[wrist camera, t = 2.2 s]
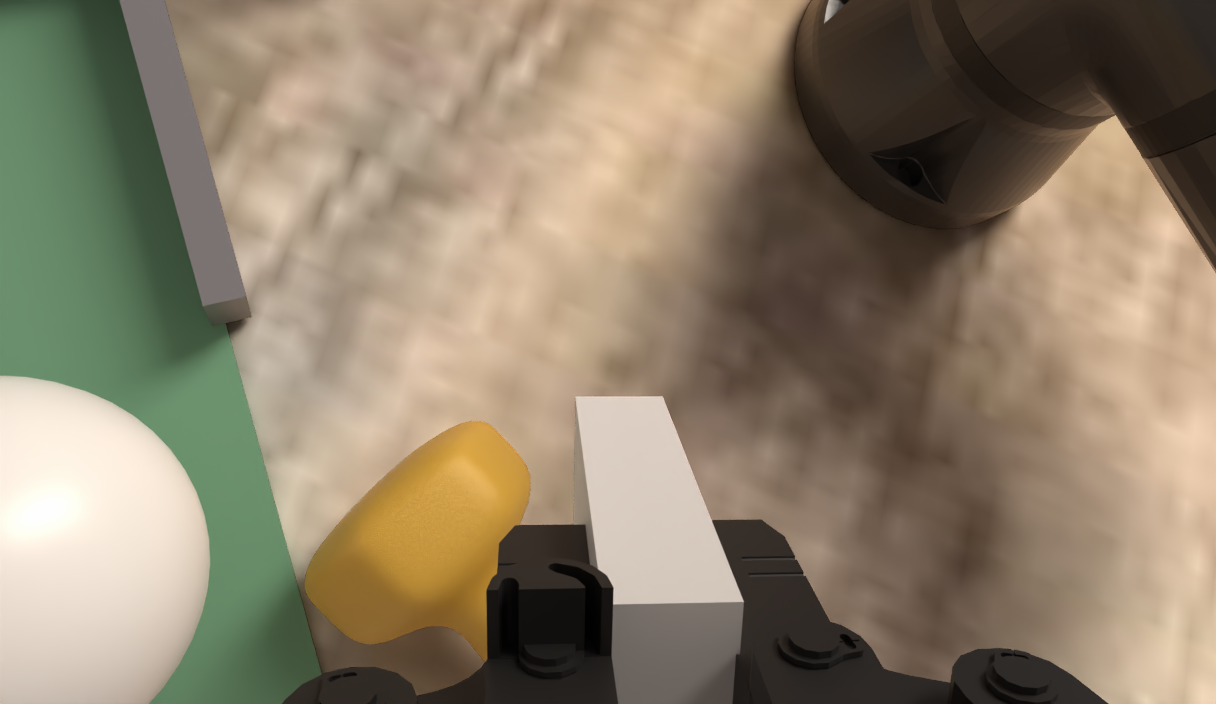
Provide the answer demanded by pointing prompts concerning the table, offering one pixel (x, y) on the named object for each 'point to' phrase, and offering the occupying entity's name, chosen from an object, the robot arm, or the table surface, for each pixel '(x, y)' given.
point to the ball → (92, 550)
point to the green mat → (136, 324)
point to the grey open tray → (186, 161)
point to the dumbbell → (424, 541)
